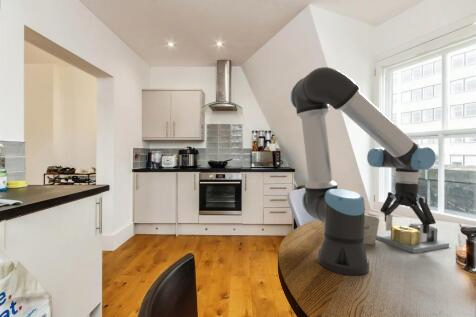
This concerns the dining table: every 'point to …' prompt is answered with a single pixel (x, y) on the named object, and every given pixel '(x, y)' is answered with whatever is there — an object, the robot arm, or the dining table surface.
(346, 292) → the dining table surface
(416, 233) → the gear
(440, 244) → the gear board
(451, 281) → the dining table surface
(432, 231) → the gear
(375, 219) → the mug
